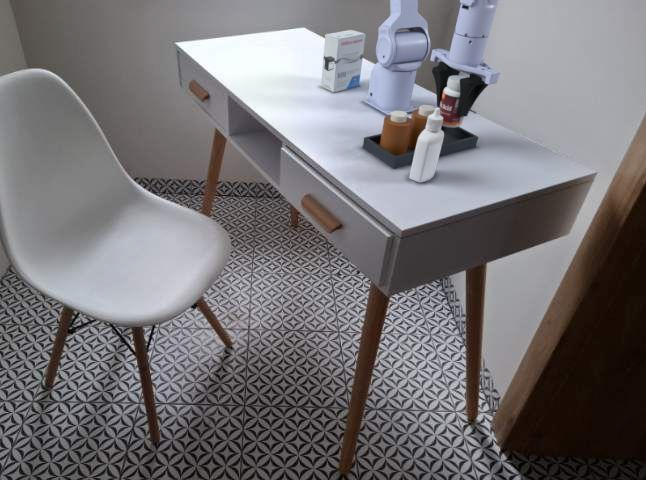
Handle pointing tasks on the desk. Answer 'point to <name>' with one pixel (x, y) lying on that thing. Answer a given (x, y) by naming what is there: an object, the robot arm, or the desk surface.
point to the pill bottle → (451, 102)
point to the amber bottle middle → (419, 123)
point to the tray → (451, 143)
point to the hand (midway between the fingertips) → (451, 111)
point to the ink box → (342, 60)
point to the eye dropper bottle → (428, 149)
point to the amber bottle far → (396, 132)
